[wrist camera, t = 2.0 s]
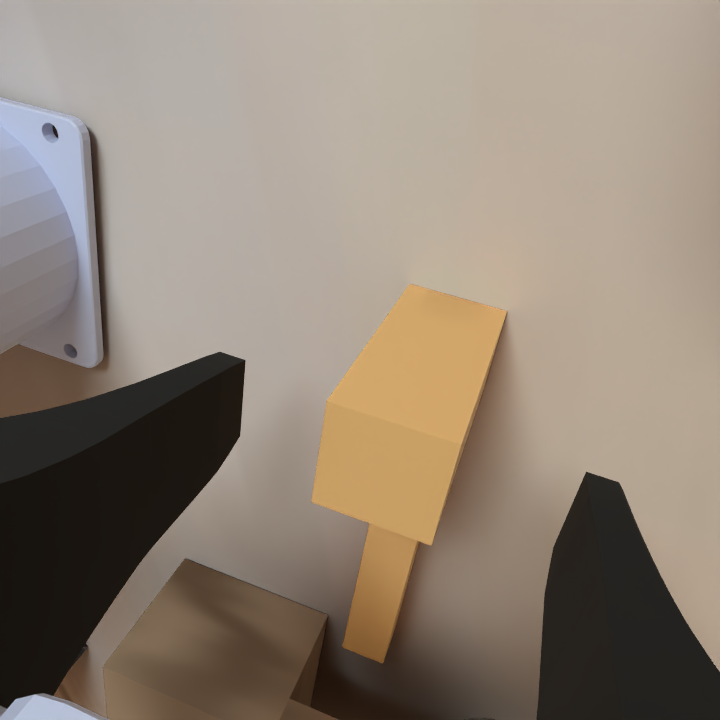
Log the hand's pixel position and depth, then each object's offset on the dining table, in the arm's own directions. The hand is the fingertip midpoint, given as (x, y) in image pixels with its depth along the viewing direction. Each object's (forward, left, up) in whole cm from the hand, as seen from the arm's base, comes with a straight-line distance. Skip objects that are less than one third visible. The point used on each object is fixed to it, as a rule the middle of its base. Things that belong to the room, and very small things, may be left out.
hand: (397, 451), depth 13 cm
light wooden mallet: (0, -5, -5) cm, 7 cm away
